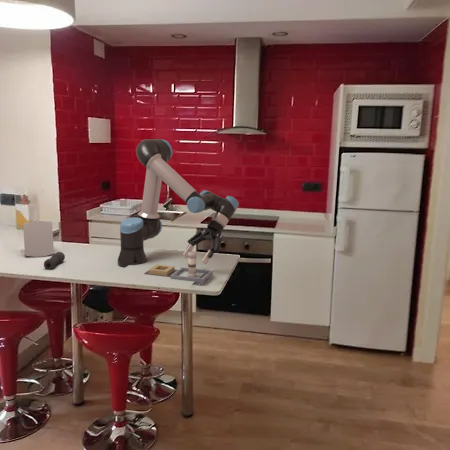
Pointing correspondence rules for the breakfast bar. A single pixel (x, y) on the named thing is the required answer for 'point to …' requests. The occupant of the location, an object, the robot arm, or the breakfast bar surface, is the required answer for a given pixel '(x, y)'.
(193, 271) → the fuse
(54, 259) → the flashlight
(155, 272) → the yellow rectangular tray
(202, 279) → the grey rectangular frame
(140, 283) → the breakfast bar surface
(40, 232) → the electrical switch box
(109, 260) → the breakfast bar surface
